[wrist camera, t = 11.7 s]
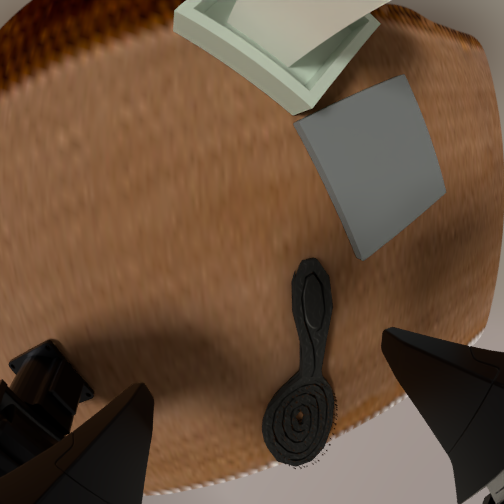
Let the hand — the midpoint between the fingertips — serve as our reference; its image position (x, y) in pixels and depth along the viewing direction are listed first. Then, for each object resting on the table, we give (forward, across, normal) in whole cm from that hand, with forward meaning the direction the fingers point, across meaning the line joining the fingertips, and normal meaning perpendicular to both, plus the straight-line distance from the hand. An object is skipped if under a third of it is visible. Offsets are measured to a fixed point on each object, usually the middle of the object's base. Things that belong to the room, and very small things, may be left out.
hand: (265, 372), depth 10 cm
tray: (+14, +6, +16) cm, 22 cm away
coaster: (+14, +13, +4) cm, 20 cm away
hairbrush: (+12, +3, -14) cm, 19 cm away
